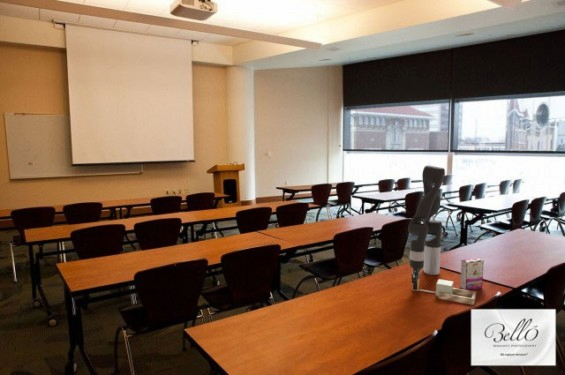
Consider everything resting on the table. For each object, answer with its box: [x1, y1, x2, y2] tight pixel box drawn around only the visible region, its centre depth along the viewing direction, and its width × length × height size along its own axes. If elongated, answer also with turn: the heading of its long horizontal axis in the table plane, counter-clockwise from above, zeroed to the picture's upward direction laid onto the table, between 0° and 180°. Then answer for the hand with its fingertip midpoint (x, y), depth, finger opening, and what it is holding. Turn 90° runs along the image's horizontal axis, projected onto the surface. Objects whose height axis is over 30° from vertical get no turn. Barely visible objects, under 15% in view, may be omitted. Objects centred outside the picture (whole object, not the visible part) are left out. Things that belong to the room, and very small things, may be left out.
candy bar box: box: [460, 257, 485, 291], centre depth 228 cm, size 11×5×16 cm, turn 105°
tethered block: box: [411, 278, 454, 297], centre depth 222 cm, size 20×8×7 cm, turn 61°
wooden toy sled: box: [437, 287, 477, 306], centre depth 216 cm, size 17×11×3 cm, turn 60°
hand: (415, 288), depth 226 cm, fingers closed on tethered block, 3 cm apart
